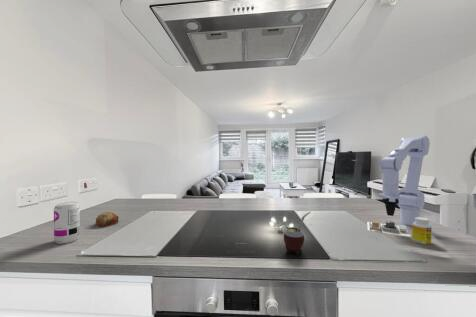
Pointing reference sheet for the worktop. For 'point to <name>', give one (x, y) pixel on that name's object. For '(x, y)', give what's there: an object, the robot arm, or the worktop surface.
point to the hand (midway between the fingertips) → (390, 215)
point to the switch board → (388, 229)
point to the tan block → (375, 225)
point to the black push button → (390, 224)
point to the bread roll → (106, 219)
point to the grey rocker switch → (402, 228)
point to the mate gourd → (294, 238)
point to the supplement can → (66, 222)
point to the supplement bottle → (421, 231)
